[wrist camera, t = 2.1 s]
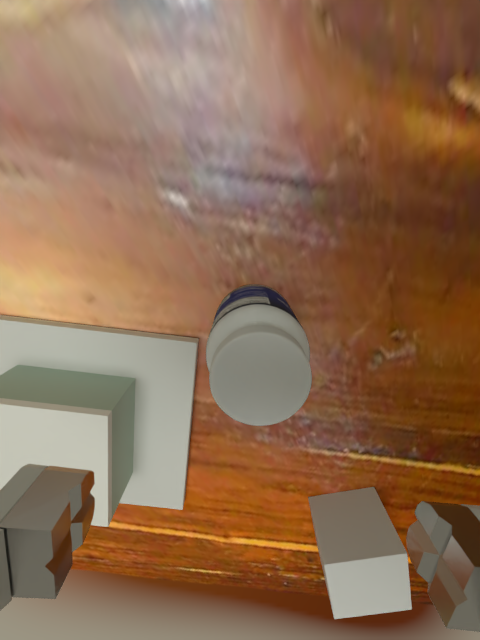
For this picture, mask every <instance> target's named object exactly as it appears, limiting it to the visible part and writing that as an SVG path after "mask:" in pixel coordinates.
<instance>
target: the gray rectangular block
mask: <svg viewBox="0 0 480 640" xmlns="http://www.w3.org/2000/svg"><path fill="white" fill-rule="evenodd" d="M308 499H309V504H310V510H311V515H312V520H313V525H314V530H315V536H316V541H317V546H318V550H319V555H320V559H321V563H322V568H323V572H324V576H325V581H326V585H327V589H328V594H329V598H330V603H331V607H332V611H333V616H334V619H339V618H347V617H355V616H363V615H371V614H379V613H387V612H394V611H403V610H411V609H412V607H411V594H410V582H409V570H408V558H407V552H406V550H405V548H404V546H403V544H402V542H401V540H400V538H399V536H398V534H397V532H396V530H395V528H394V526H393V524H392V522H391V520H390V518H389V516H388V514H387V512H386V510H385V508H384V506H383V504H382V502H381V500H380V498H379V496H378V494H377V492H376V490H375V488H374V487H369V488H363V489H357V490H350V491H344V492H338V493H331V494H325V495H318V496H312V497H308Z"/></svg>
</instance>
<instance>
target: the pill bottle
mask: <svg viewBox="0 0 480 640" xmlns="http://www.w3.org/2000/svg"><path fill="white" fill-rule="evenodd" d="M309 361H310V348H309V343H308V339H307V336H306V334H305V332H304V330H303V328H302V326H301V325H300V323H299V321H298V320H297V318H296V317H295V315H294V313H293V312H292V310H291V308H290V307H289V305H288V303H287V302H286V300H285V299H284V298H283V297H282V295H280V294H279V293H278V292H277V291H275V290H273V289H272V288H269V287H266V286H263V285H246V286H242V287H239V288H237V289H235V290H234V291H232V292H231V293H229V294H228V295H227V296H226V297H225V298H224V299H223V301H222V302H221V304H220V306H219V308H218V310H217V313H216V316H215V319H214V322H213V325H212V328H211V331H210V334H209V338H208V341H207V346H206V362H207V366H208V370H209V372H210V375H209V382H210V389H211V393H212V395H213V397H214V399H215V401H216V403H217V405H218V406H219V407H220V408H221V409H222V410H223V411H224V412H225V413H226V414H227V415H228V416H230V417H231V418H233V419H234V420H237V421H239V422H241V423H245V424H248V425H256V426H264V425H272V424H276V423H279V422H281V421H283V420H286V419H288V418H289V417H291V416H292V415H293V414H295V413H296V412H297V411H298V410H299V409H300V408H301V407H302V405H303V404H304V402H305V401H306V399H307V397H308V395H309V392H310V388H311V383H312V373H311V367H310V364H309Z"/></svg>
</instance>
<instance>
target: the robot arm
mask: <svg viewBox="0 0 480 640" xmlns="http://www.w3.org/2000/svg"><path fill="white" fill-rule="evenodd" d="M94 484H95V481H94V472H93V471H91V470H83V469H74V468H66V467H58V466H45V465H37V464H27V465H25V466H23V467H21V468H20V469H19V470H18V472H17V473H16V474H15V475H14V476H13V477H12V478H11V479H10V480H9V481H8V482H7V484H6V485H5V486H4V487H3V488H2V489H1V490H0V610H1V609H3V608H4V607H5V606H6V605H7V604H8V603H9V602H10V601H11V600H12V597H22V598H48V599H56V597H57V595H58V593H59V591H60V589H61V587H62V585H63V583H64V581H65V579H66V576H67V574H68V573H69V570H70V568H71V566H72V552H73V551H74V550H76V549H77V548H78V547H79V546H81V545H82V544H83V542H84V540H85V538H86V536H87V533H88V531H89V528H90V525H91V522H92V519H93V514H94V508H95V498H94V497H93V496H92V494H91V493H90V491H91V489H92V487H93V486H94ZM415 515H416V517H417V519H418V520H417V521H416V522H415V523H413V524H412V525H411V526H410V527H409V530H408V533H407V537H406V539H407V550H408V553H409V556H410V560H411V562H412V564H413V566H414V568H415V570H416V572H417V573H418V574H420V575H421V576H422V577H423V578H424V579H425V580H426V581H427V582H428V595H429V596H430V598H431V600H432V602H433V604H434V606H435V607H436V610H437V611H438V613H439V615H440V617H441V619H442V621H443V622H444V625H445V627H446V628H450V629H460V630H468V631H477V632H480V506H476V505H464V504H461V505H459V504H451V503H439V502H426V501H422V502H421V503H419V504H418V505H417V508H416V510H415Z"/></svg>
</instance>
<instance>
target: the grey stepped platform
mask: <svg viewBox="0 0 480 640" xmlns="http://www.w3.org/2000/svg"><path fill="white" fill-rule="evenodd" d="M198 344H199V338H192V337H183V336H175V335H166V334H158V333H150V332H141V331H133V330H124V329H116V328H108V327H99V326H91V325H82V324H74V323H66V322H57V321H49V320H40V319H32V318H24V317H15V316H7V315H0V490H1V489H2V488H3V487H4V486H5V485H6V484H7V482H8V481H9V480H10V479H11V478H12V477H13V476H14V475H15V474H16V473H17V472H18V470H19V469H20V468H21V467H23V466H25V465H27V464H37V465H45V466H58V467H66V468H74V469H83V470H91V471H93V472H94V481H95V484H94V486H93V487H92V489H91V491H90V493H91V494H92V496H93V497H94V498H95V508H94V514H93V519H92V522H91V525H95V526H105V527H108V526H109V524H110V522H111V519H112V517H113V515H114V513H115V511H116V509H117V506H118V504H119V503H124V504H134V505H143V506H153V507H162V508H171V509H181V510H183V505H184V501H185V491H186V479H187V468H188V457H189V446H190V434H191V423H192V412H193V400H194V389H195V378H196V367H197V355H198Z"/></svg>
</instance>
